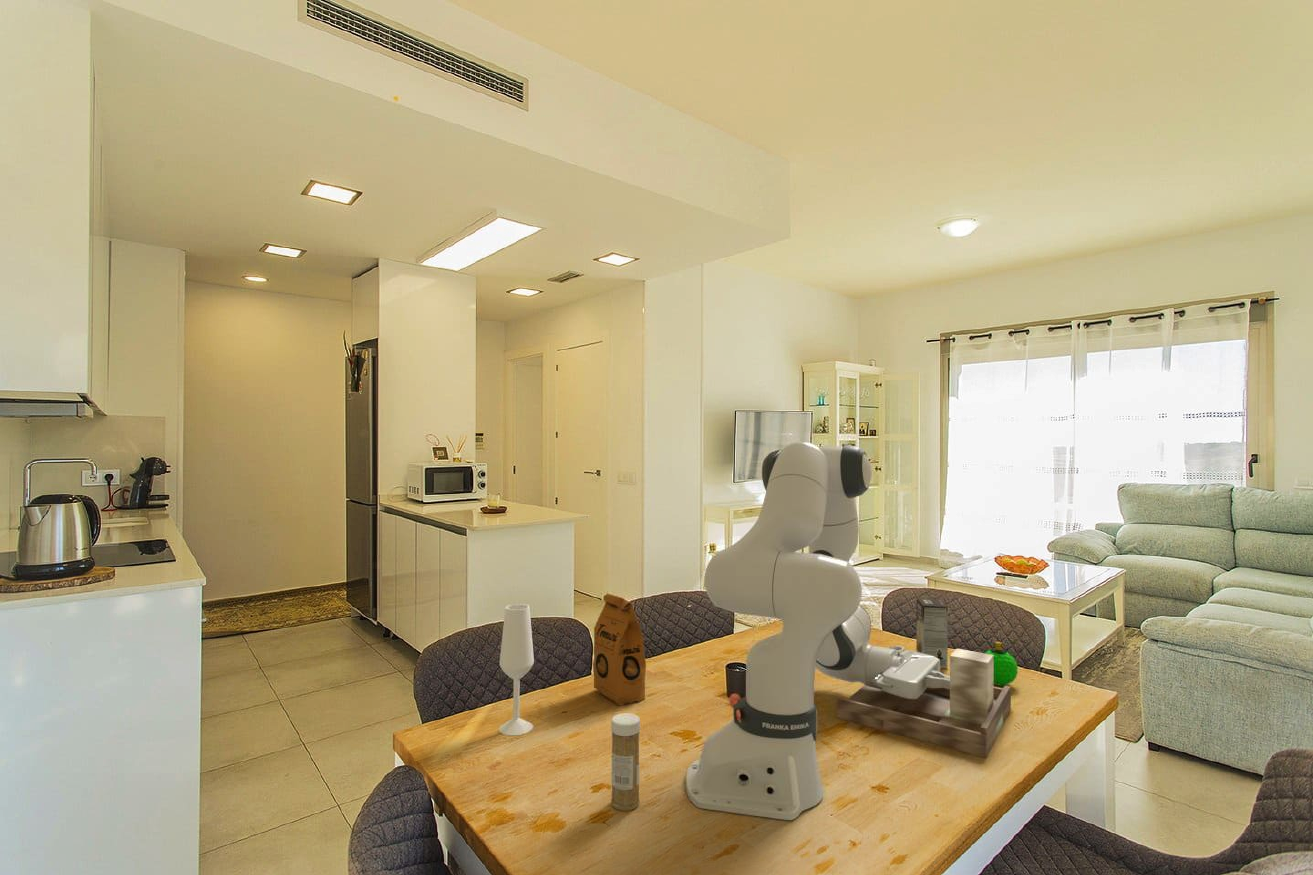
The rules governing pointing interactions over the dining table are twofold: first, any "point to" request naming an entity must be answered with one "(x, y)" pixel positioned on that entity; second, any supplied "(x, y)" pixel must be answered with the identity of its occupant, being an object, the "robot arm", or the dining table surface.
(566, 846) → the dining table surface
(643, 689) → the coffee package
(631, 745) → the spice jar
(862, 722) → the tray
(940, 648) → the coffee box
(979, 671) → the birch block
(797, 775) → the robot arm
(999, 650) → the ornament
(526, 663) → the champagne flute
